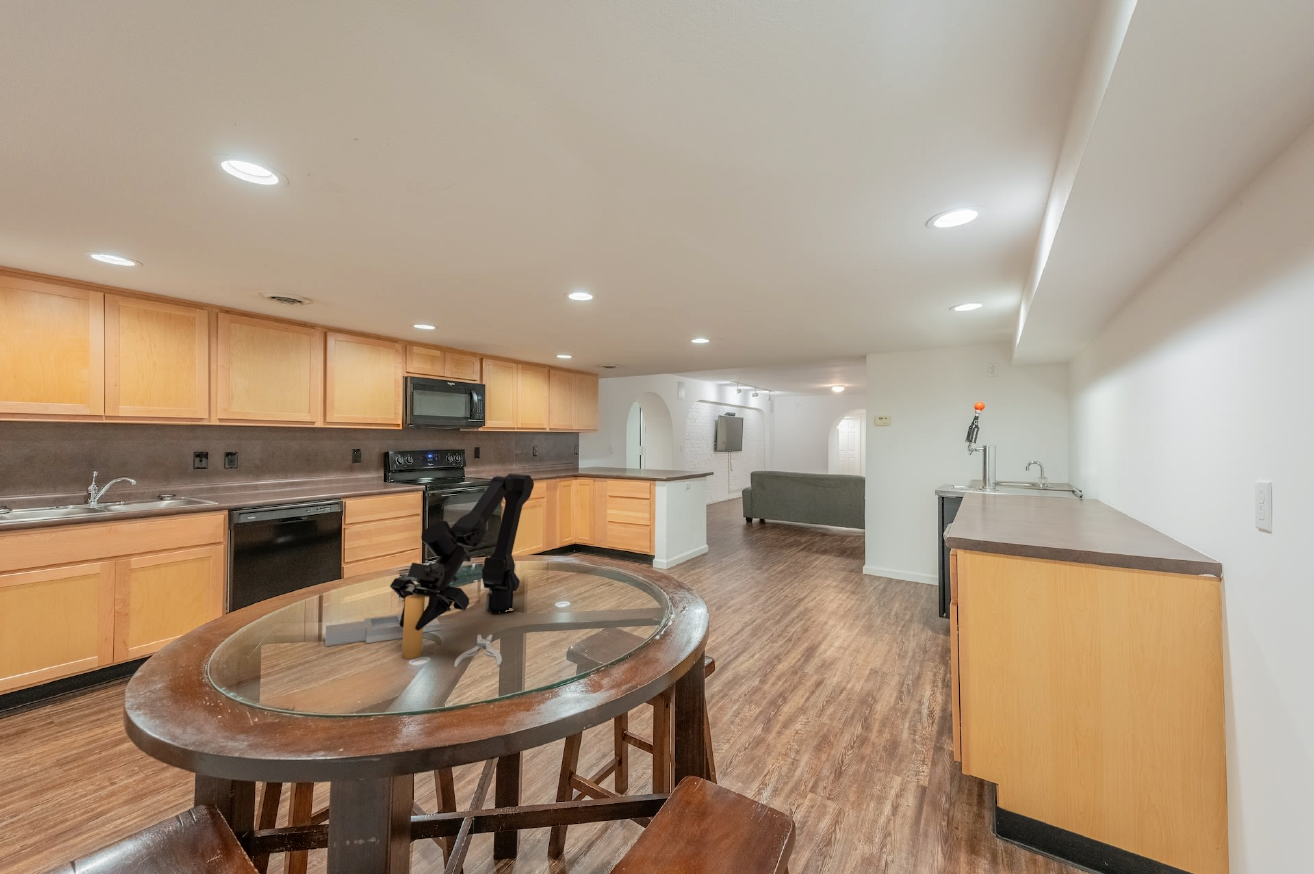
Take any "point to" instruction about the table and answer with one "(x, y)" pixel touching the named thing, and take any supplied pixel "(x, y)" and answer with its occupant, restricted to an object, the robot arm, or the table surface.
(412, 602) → the pin
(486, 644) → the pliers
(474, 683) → the table surface
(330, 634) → the grey peg socket block
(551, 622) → the table surface
